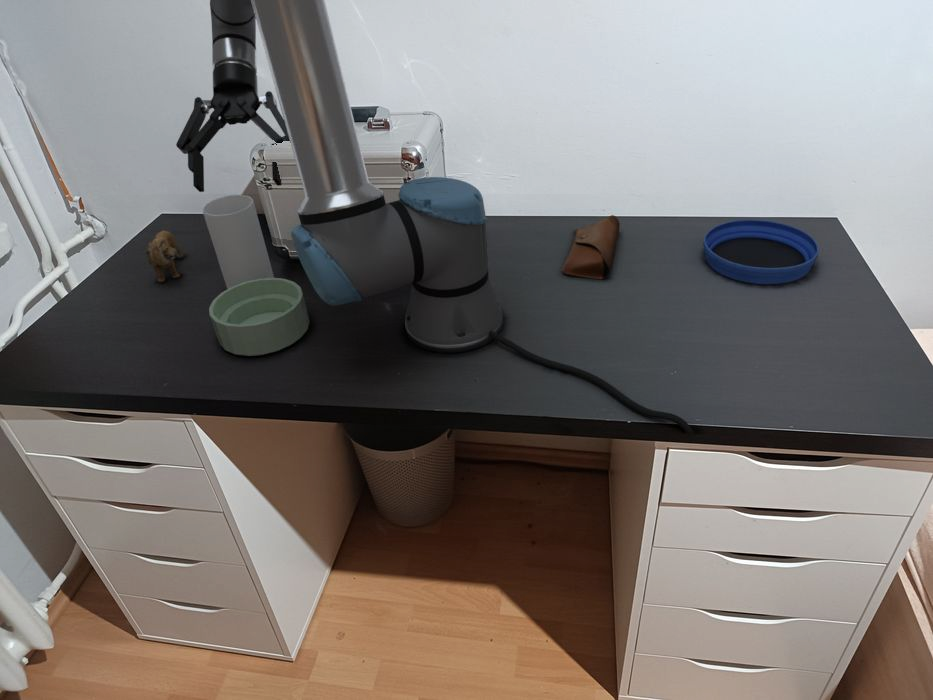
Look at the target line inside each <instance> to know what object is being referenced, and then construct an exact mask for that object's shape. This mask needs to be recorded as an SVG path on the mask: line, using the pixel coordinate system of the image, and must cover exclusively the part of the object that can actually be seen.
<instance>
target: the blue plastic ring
mask: <svg viewBox="0 0 933 700" xmlns="http://www.w3.org/2000/svg"><path fill="white" fill-rule="evenodd" d="M702 245H703V250H704V254H705V255H704V256H705V257H704V258H705V261H706V263H707V264H708V265H709V266H710V267H711V268H712V270H714V271H716V273H719V274H720V275H722V276H724V277H726V278H729V279H732V280H734V281H739V282H741V283H750V284H754V285H756V284H757V285H779V284H786V283H791V282H794V281H798V280H799V279H801V278H803V277H805V276H806V275H807V274H809V272H810V270H811V269H812V266H813V265H814V264H815V262H816V261H817V259H818V256H819V245H818V243H817V241H816V240H815V238H814V237H812V236H811V234H809V233H808V232H806V231H805V230H802V229H800V228H798V227H795V226H792V225H789V224H786V223H782V222H777V221H773V220H772V221H771V220H763V219H738V220H737V219H736V220H731V221H727V222H724V223H719V224H718V225H716V226H714V227H712V228H710V229H709V230H708V231H707V232H706V234H705V235H704V238H703V243H702Z"/></svg>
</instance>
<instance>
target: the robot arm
mask: <svg viewBox="0 0 933 700" xmlns="http://www.w3.org/2000/svg"><path fill="white" fill-rule="evenodd" d="M209 11H210V19H211V21H210V22H211V39H212V40H211V41H212V42H211V43H212V45H211V47H212V48H211V49H212V50H211V54H212V56H211V60H212V62H211V63H212V64H211V65H212V93H213V95H212V98H211V99H202V98H201V97H200V96H197V97H195V98H194V103H193V109H192V111H191V113H190V115H189V117H188V119H187V122H186V123H185V125H184V127H183V129H182V131H181V133H180V135H179V137H178V138H177V139H178V140H177V142H176V144H175V145H176V148H177V149H178V150H179V151H180V152H181V153H182V154H184V155H187V168H188V170H189V171H190V172H191V173H192V178H193V179H192V180H193V181H192V183H193V185H192V186H193V187H194V188H195V189H196V190H197V191H198V192H199V193H204V192H205V163H204V155H202V151H203V150H204V149H205V148H206V147H207V145H208V144H209V143H210V142H211V141H212V140H213V138H214V137H215V136H216V135H217V134H218V132H219V131H220V130H221V129H224V128H225V126H226V125H227V124H228V125H229V126H231V125H236V124H243V125H245V124H248V123H249V122H250V121H251V122H253V123H254V125H256V126H257V127H258V128H259V129H260V130H261V131H262V132H263V133H264V134H265V135H266V136H267V137H268V138H269V139H270V138H271V139H272V140H274V141H275V142H276V143H282V142H283V141H290V143H291V145H290V146H291V150H292V154H293V157H294V160H295V165H296V168H297V173H298V175H299V178H300V182H301V186H302V189H303V193H304V197H303V200H302V202H301V204H300V205H299V207H298V208H297V215H298V218H299V223H300V224H297V225H295V226H294V227H293V228H292V229H291V231H290V235H291V239H292V242H293V246H294V249H295V251H296V254H297V257H298V259H299V262H300V264H301V266H302V268H303V270H304V272H305V274H306V277H307V278H308V280H309V283H310V284H311V286H312V287H313V289H314V291H315V292H316V294H317V295H318V297H319V298H320V299H321V300H322V301H323V302H324V303H326V304H327V305H329V306H333V307H335V306H341V305H342V306H343V305H345V304H349V303H354V302H362V300H364V299H367V298H370V297H373V296H377V295H380V294H384V293H386V292H389V291H393V290H396V289H399V288H403V287H406V286H409V285H411V289H410V293H409V297H407V298H406V299H405V301H404V302H403V303H402V306H403V310H405V309H406V311H405V316H404V317H405V318H404V324H405V331H406V335H407V337H408V339H409V340H410V341H411V342H412V343H413V344H415V345H416V346H417V347H419V348H421V349H424V350H427V351H429V352H435V353H442V354H456V353H463V352H468V351H473V350H475V349H478V348H482V347H483V346H485V345H487V344H489V343H490V342H491V341H493V340H495V341H496V342H499V343H500V344H502V345H504V346H505V347H507V348H509V349H511V350H512V351H514V352H516V353H518V354H519V355H521V356H522V357H525V358H526V359H528V360H530V361H533V362H535V363H536V364H537V363H538V364H539V365H543V366H545V367H549V368H551V369H555V370H559V371H562V372H566V373H569V374H572V375H576V376H578V377H581V378H584V379H585V380H587V381H590V382H592V383H594V384H596V385H597V386H599V387H601V388H602V389H604V390H605V391H606V392H608V393H609V394H611V395H612V396H613V397H614V398H616V399H617V400H618V401H620V402H621V403H623V404H624V405H625V406H627V407H628V408H630V409H632V410H633V411H635V412H637V413H639V414H640V415H643V416H645V417H648V418H653V419H659V420H665V421H669V422H671V423H675V424H676V425H678V426H679V428H681V430H683V432H685V433H686V434H689V435H691V434H693V433H694V430H693V428H692V427H691V426H690V425H689V423H688V422H687V421H686V420H685V419H683V418H682V417H681V416H679V415H676V414H673V413H670V412H667V411H666V412H665V411H658V410H654V409H650V408H647V407H645V406H643V405H641V404H639V403H638V402H636V401H634V400H633V399H631V398H630V397H628V396H626V395H625V394H624V393H622V392H621V391H620V390H618V389H617V388H615V387H614V386H613V385H611V384H610V383H609V382H607V381H605V380H604V379H602V378H600V377H599V376H597V375H595V374H593V373H590V372H588V371H586V370H584V369H581V368H577V367H575V366H572V365H568V364H564V363H561V362H557V361H554V360H551V359H549V358H548V359H547V358H545V357H542V356H539V355H537V354H535V353H532V352H530V351H528V350H526V349H525V348H523V347H522V346H521V345H518V344H517V343H515V342H514V341H511V340H510V339H508V338H506V337H504V336H502V335H501V334H500V333H501V331H502V329H503V326H504V325H503V323H504V319H503V317H504V316H503V309H502V306H501V303H500V302H499V300H498V299H497V296H496V294H495V291H494V288H493V286H492V283H491V281H490V279H489V261H488V260H489V259H488V257H489V256H488V241H487V240H488V239H487V220H488V217H487V216H486V215H487V214H486V209H485V202H484V197H483V195H482V193H481V191H480V190H479V189H478V188H477V187H476V186H474V185H473V184H471V183H469V182H466V181H464V180H461V179H457V178H451V177H444V176H427V177H419V178H414V179H410V180H408V181H407V182H405V183H403V184H401V186H400V188H399V191H398V195H397V197H398V199H397V200H394V201H391V202H386V200H385V195H384V191H383V190H381V189H380V188H378V187H377V186H375V185H374V184H373V183H372V182H371V181H370V180H369V177H368V172H367V168H366V165H365V160H364V155H363V152H362V148H361V143H360V139H359V135H358V131H357V127H356V123H355V118H354V115H353V111H352V107H351V102H350V99H349V95H348V91H347V87H346V86H347V85H346V82H345V78H344V75H343V71H342V70H343V69H342V66H341V65H342V64H341V61H340V57H339V54H338V49H337V45H336V42H335V38H334V37H335V36H334V33H333V29H332V25H331V21H330V16H329V12H328V9H327V5H326V0H209ZM256 24H257V25H256ZM257 27H258V32H259V35H260V39H261V42H262V47H263V49H264V53H265V57H266V60H267V64H268V67H269V71H270V74H271V78H272V82H273V85H274V89H275V92H276V97H277V99H278V102H277V99H276V98H275V96H274V94H273V92H272V91H271V90H270V91H269V90H267V91H266V92H265V95H259V91H258V89H259V88H258V87H259V86H258V74H257V73H258V65H257V64H258V63H257V62H258V61H257V60H258V58H257V43H256V42H257V34H256V33H257ZM278 103H279V106H280V110H281V112H280V111H279V109H278ZM261 105H263V106H264V108H265V109H268V110H269V111H270V113H271V115H272V117H274V119H275V121H276V123H277V124H278V126H279V128H280V129H281V131H282V132H283V134H284V135H283V136H281V135H280V134H279V133H278V132H277V131H275V129H274V128H273V127H272V126H271V125H270V124H268V122H267V121H265V120H264V119H263V117H261V116H260V114H259V113H258V112H257V111H258V110H259V108H261ZM211 109H212V110H213V111H212V112H211V113H210V110H211ZM209 113H210V115H209V118H208V119H207V121H206V122H205V120H206V117H207V115H208V114H209ZM271 139H270V140H271ZM272 140H271V141H272ZM276 143H271V145H274V144H276ZM276 145H277V144H276ZM271 167H272V169H271V170H272V171H271V172H272V173H271V174H272V175H271V176H272V181H273V182H274V183H275V185H276V186H277V187H278V186H282V178H281V179H280V175H279V171H278V167H277V163H276V162H272V161H271Z"/></svg>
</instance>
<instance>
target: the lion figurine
mask: <svg viewBox="0 0 933 700" xmlns="http://www.w3.org/2000/svg"><path fill="white" fill-rule="evenodd" d="M145 253H146V258H147V260H148V263H149V265H150V266H152V267H153V270H154V272H155V273H156V275H157V276H158V278H157V282H159V283H163V282H165V281H166V276H164V273H163V272H162V270H165V269H168V268H169V271H170V276H172V278H173V279H177V278H179V277H180V276H181V275H180V273H178V271H177V268H176V264H175V261H174V259H175V258H176V256H177V258H178V259H182V258H184V254H183V252H182V249H181V247H180V246H179V245H178V241H177V240H176V238H175V237H174V235H173V234H172V232H171V231H167V230H161V231H160V232H157V233H156V235H155V236H154V238H153V239H151V240H150V241H148V243H147V246H146V252H145ZM176 253H177V255H176Z"/></svg>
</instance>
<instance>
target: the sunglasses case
mask: <svg viewBox="0 0 933 700" xmlns="http://www.w3.org/2000/svg"><path fill="white" fill-rule="evenodd" d="M620 224H621V223H620V220H619V217H617V216H616V215H614V214H611V215H609V216H607V217H605V218H604V219H603V218H602V220H600V221H597V222H594V223H591V224H588V225H585V226H582V227H580V228H577V229H576V230H575V233H574V237H573V241H572V243H571V247H570V250H569V252H568V255H567V257H566V259H565V262H564V264H563V266H562V269H561V273H563V274H564V275H568V276H573V277H578V278H582V279H583V278H584V279H593V280H604V279H605V278H607V277H608V276H609V275H610V273H611V269H612V266H613V260H614V256H615V252H616V251H615V250H616V246H617V241H618V237H619V233H620Z"/></svg>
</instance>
